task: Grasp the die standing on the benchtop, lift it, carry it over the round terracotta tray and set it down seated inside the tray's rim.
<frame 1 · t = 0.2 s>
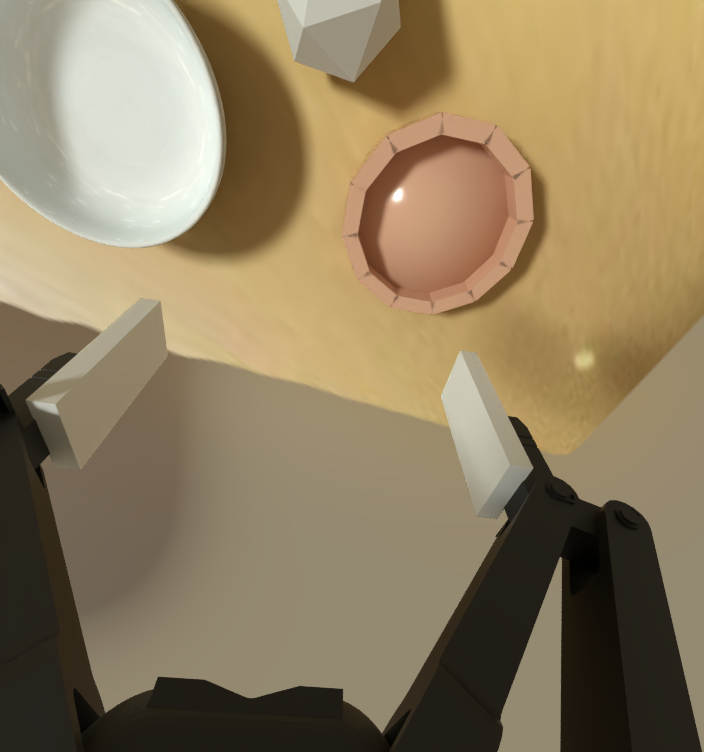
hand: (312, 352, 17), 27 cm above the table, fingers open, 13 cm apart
serving bowl: (129, 111, 34), on the table
tray: (430, 220, 39), on the table
die: (340, 11, 30), on the table
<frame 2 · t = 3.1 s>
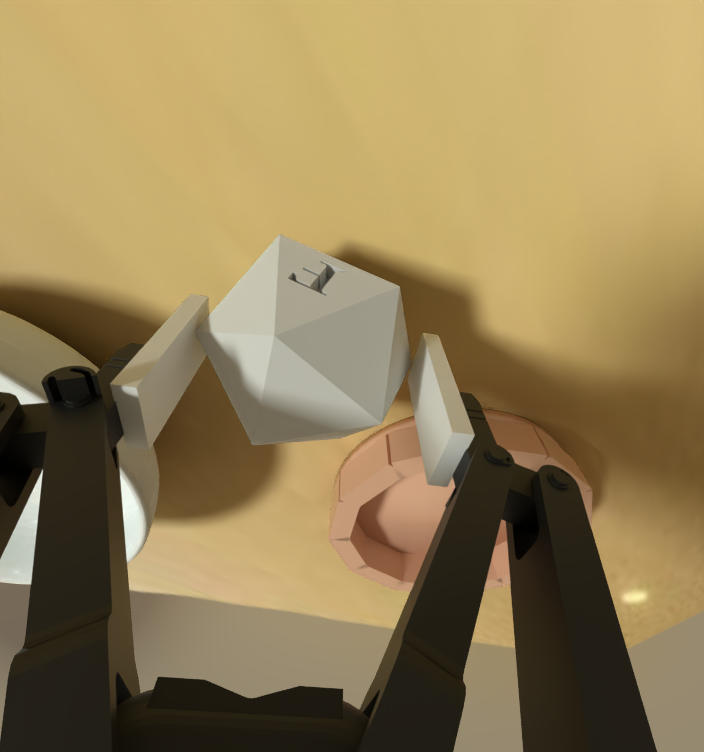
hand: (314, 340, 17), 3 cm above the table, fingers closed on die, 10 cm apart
serving bowl: (29, 399, 24), on the table
tray: (447, 493, 29), on the table
die: (320, 308, 20), on the table, touching gripper
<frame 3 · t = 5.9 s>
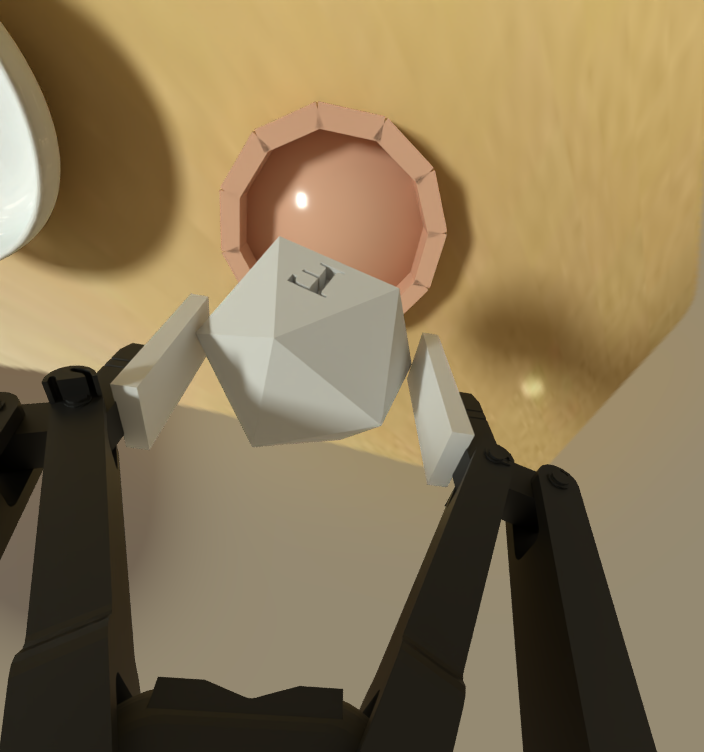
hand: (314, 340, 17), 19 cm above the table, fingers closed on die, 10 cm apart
tray: (334, 231, 33), on the table
die: (320, 309, 20), point 16 cm above the table, touching gripper
when the fingers open (6 cm above the table, at t = 8.8 s): die drops 1 cm, resting on tray.
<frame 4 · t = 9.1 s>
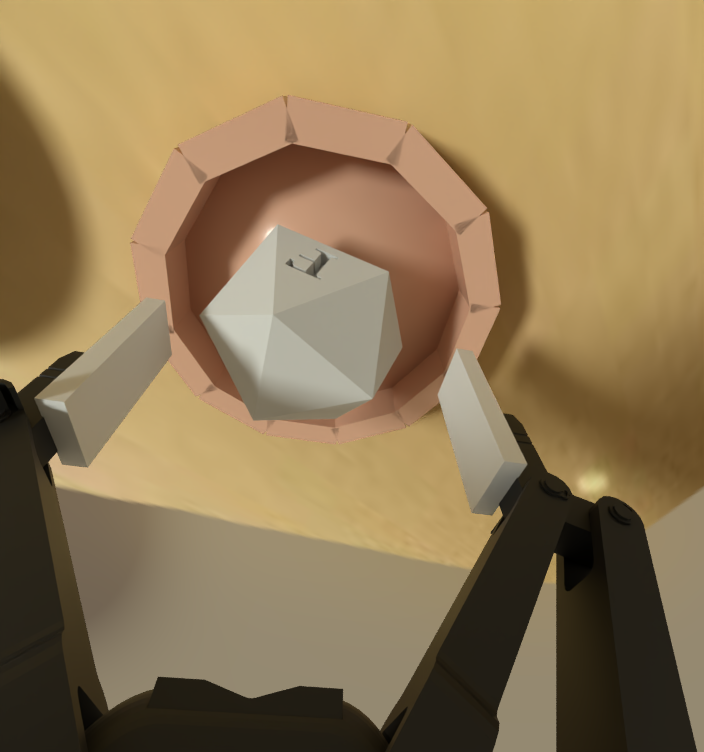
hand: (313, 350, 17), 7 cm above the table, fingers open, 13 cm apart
tray: (323, 292, 22), on the table
die: (316, 297, 21), point 1 cm above the table, touching tray
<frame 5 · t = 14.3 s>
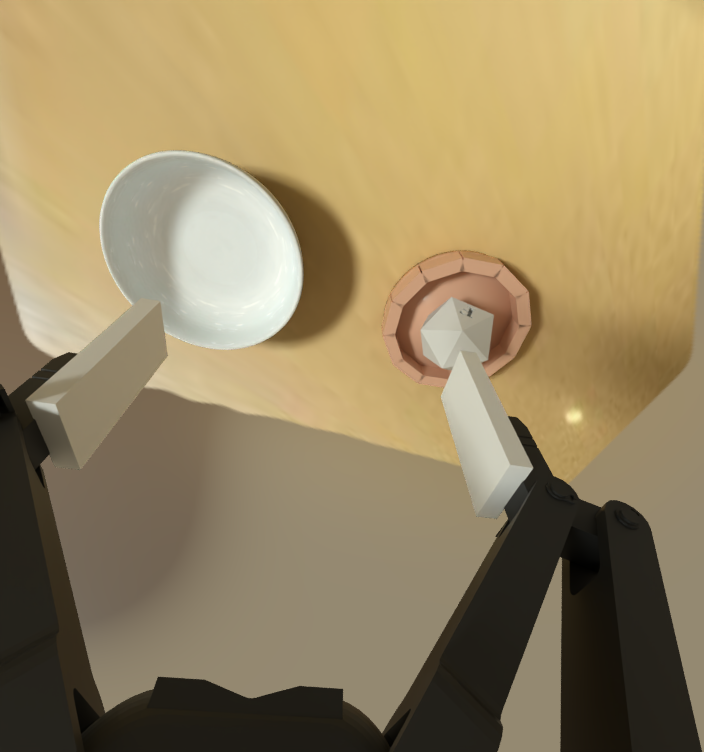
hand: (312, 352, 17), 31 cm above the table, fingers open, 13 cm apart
serving bowl: (223, 246, 44), on the table
tray: (450, 318, 49), on the table
die: (449, 320, 49), point 1 cm above the table, touching tray
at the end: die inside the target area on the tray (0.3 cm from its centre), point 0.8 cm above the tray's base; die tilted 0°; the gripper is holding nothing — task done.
